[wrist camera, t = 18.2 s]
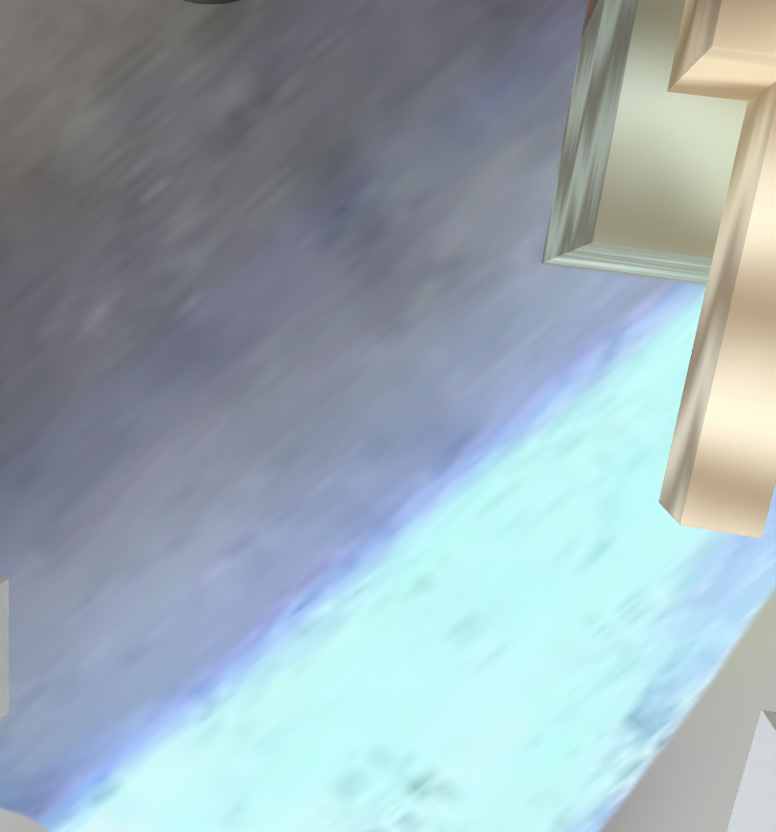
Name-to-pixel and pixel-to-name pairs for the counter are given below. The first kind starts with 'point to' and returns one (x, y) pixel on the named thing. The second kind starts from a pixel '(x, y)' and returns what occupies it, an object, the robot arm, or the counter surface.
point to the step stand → (640, 153)
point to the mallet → (732, 285)
